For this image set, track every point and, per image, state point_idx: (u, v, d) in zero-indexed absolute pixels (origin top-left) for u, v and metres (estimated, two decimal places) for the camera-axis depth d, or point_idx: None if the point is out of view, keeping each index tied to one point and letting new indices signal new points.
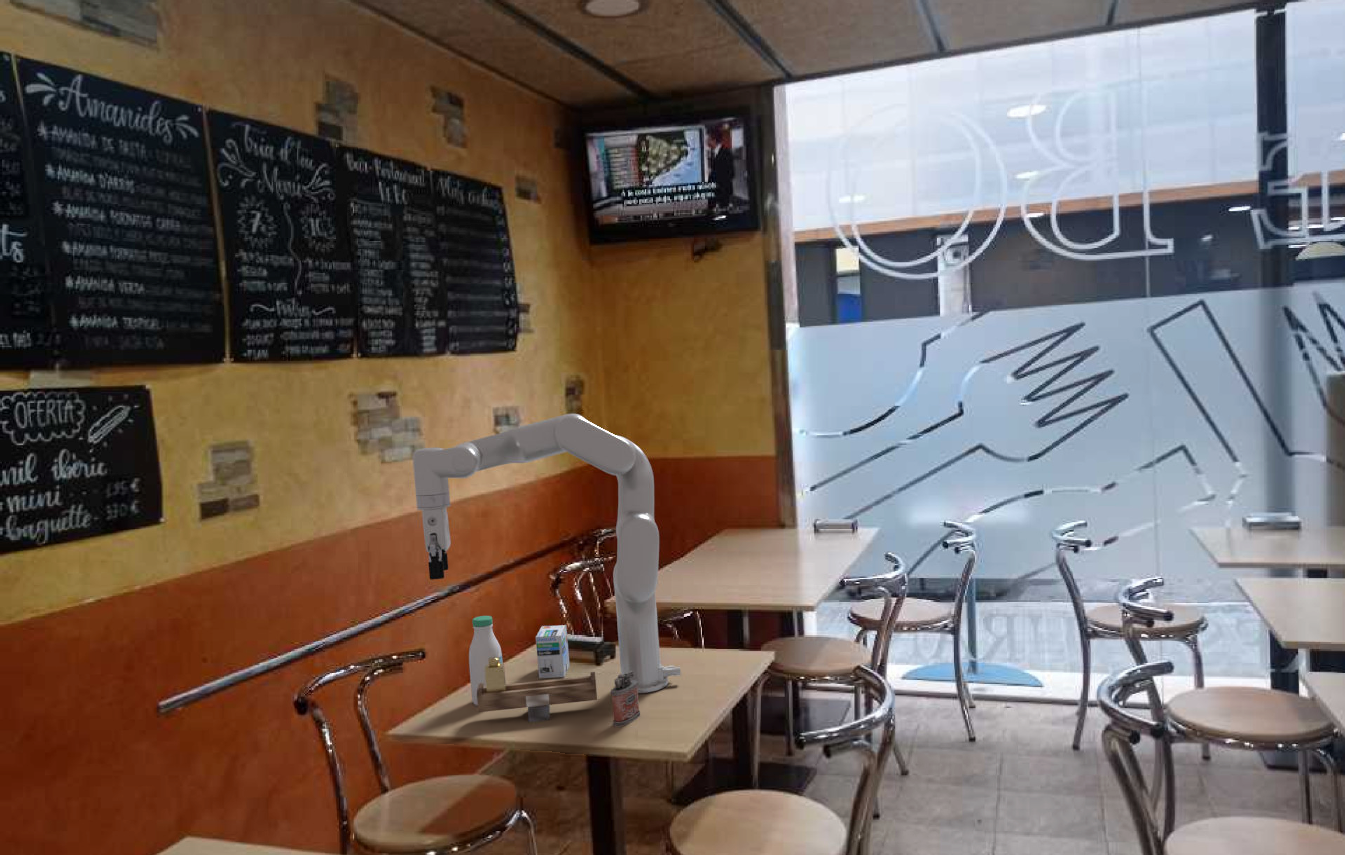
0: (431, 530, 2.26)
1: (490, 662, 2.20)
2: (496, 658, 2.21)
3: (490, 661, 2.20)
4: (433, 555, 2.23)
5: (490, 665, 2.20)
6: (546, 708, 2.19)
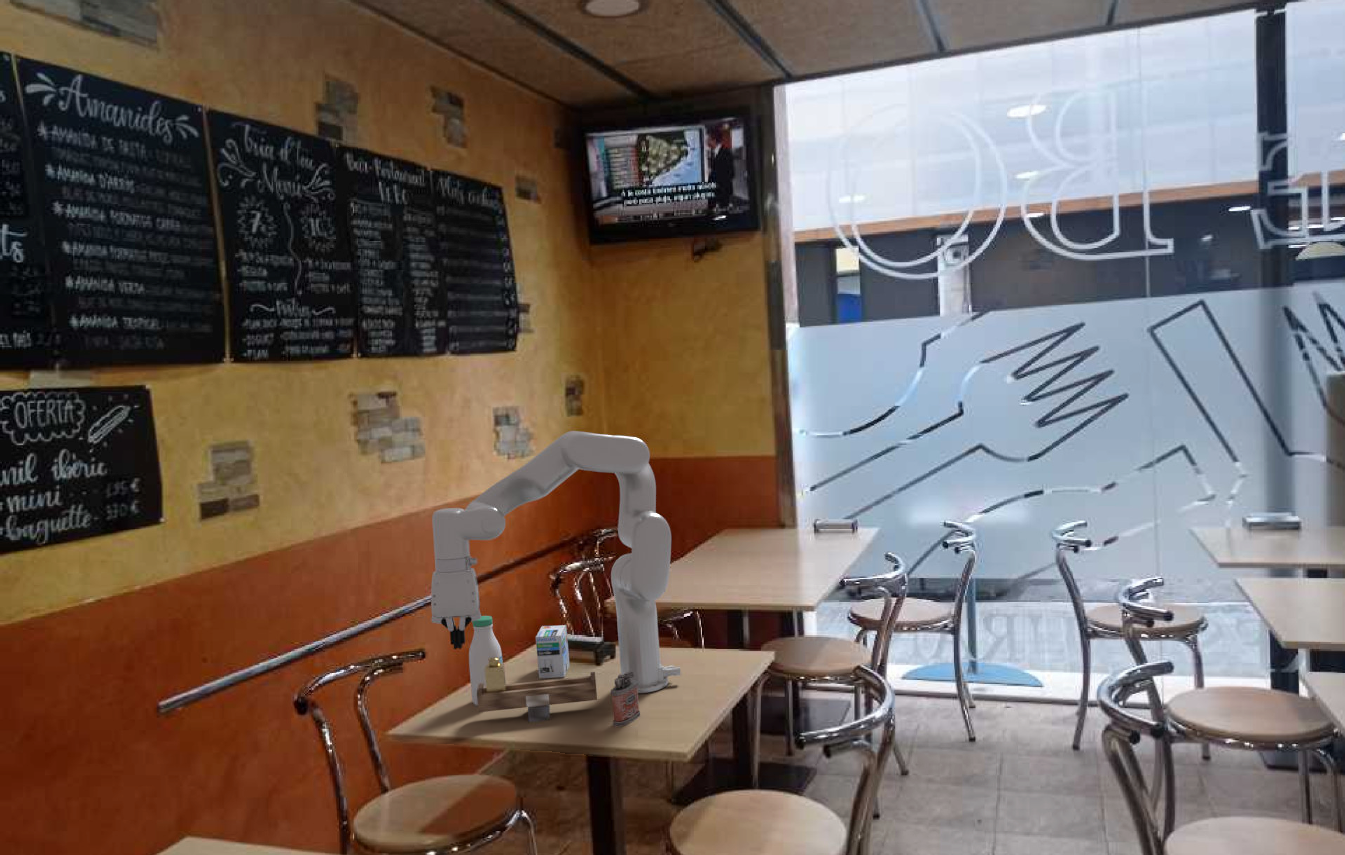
0: (477, 591, 2.19)
1: (490, 662, 2.20)
2: (496, 658, 2.21)
3: (490, 661, 2.20)
4: None
5: (490, 665, 2.20)
6: (546, 708, 2.19)
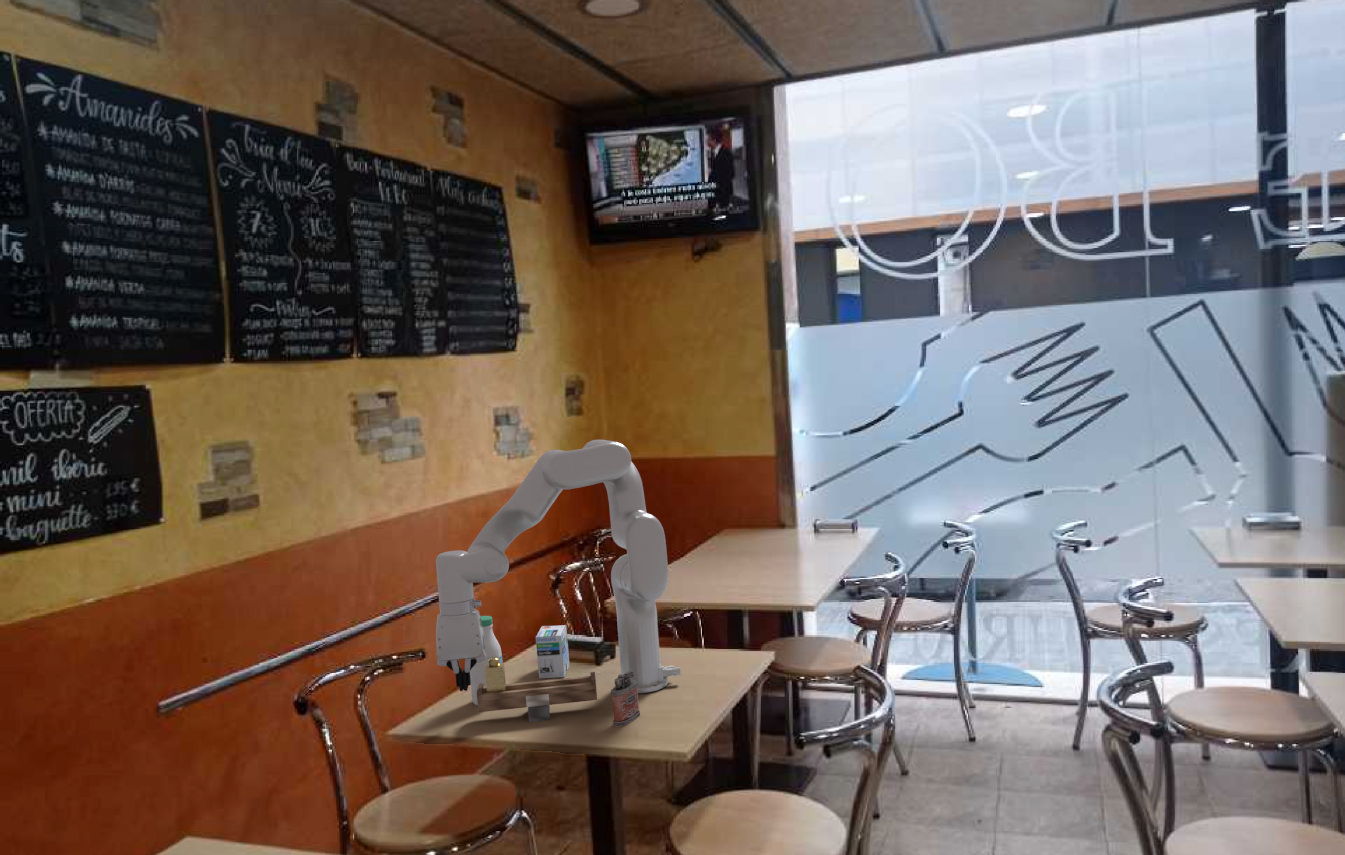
0: (482, 632, 2.20)
1: (490, 662, 2.20)
2: (496, 658, 2.21)
3: (490, 661, 2.20)
4: None
5: (490, 665, 2.20)
6: (546, 708, 2.19)
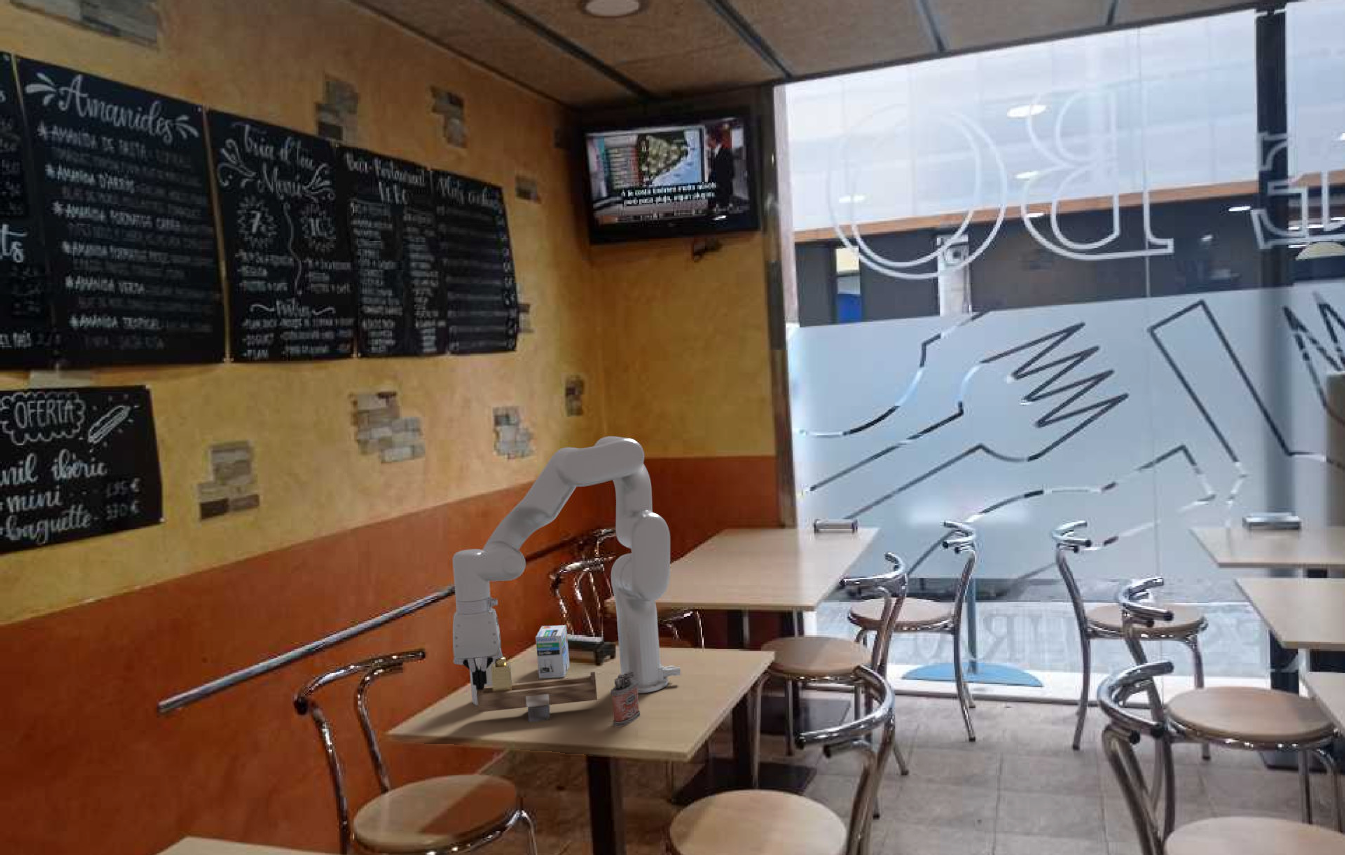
0: (498, 631, 2.20)
1: (496, 661, 2.20)
2: (502, 657, 2.21)
3: (497, 661, 2.20)
4: None
5: (496, 664, 2.20)
6: (546, 708, 2.19)
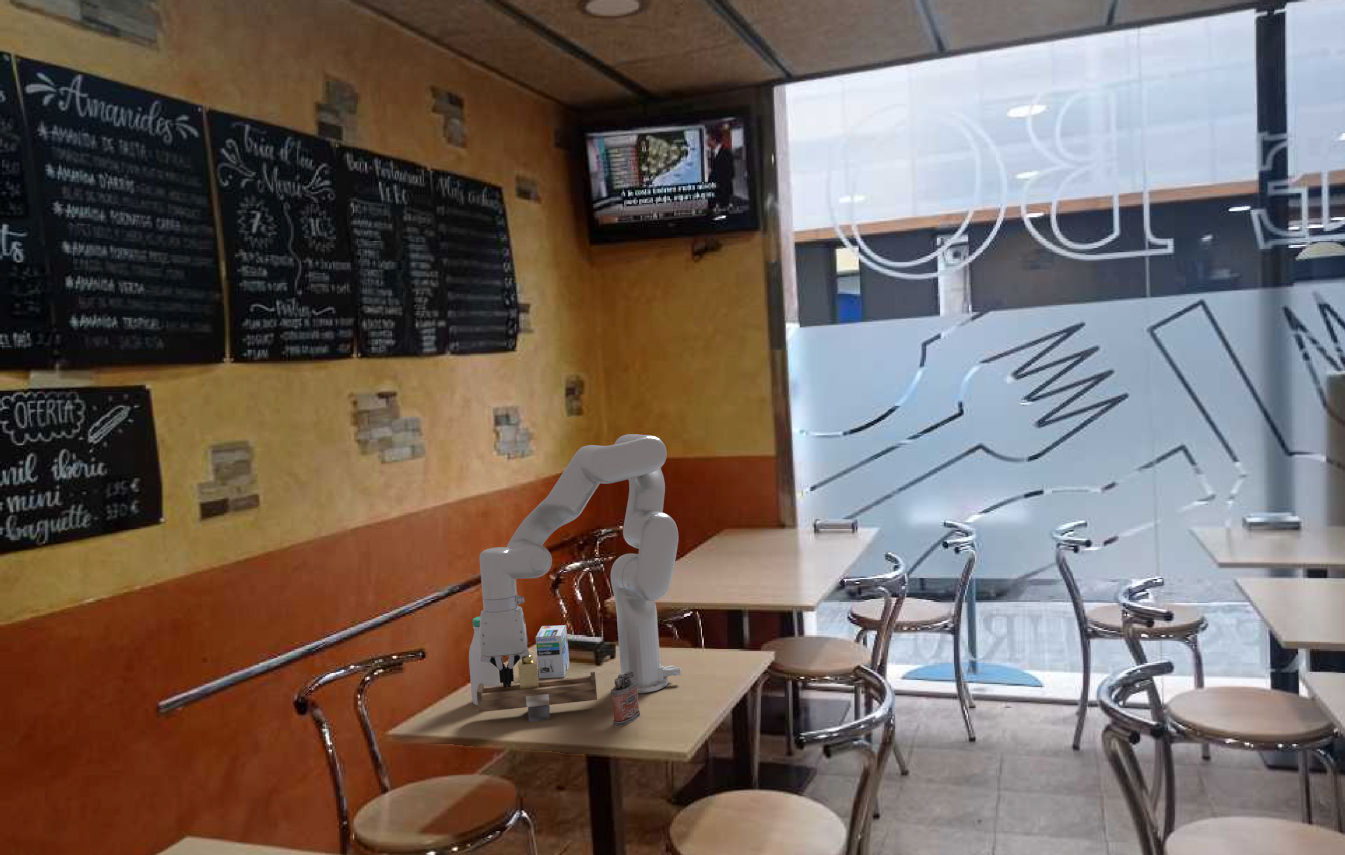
0: (525, 629, 2.21)
1: (523, 659, 2.21)
2: (529, 655, 2.22)
3: (524, 658, 2.21)
4: None
5: (523, 662, 2.21)
6: (546, 708, 2.19)
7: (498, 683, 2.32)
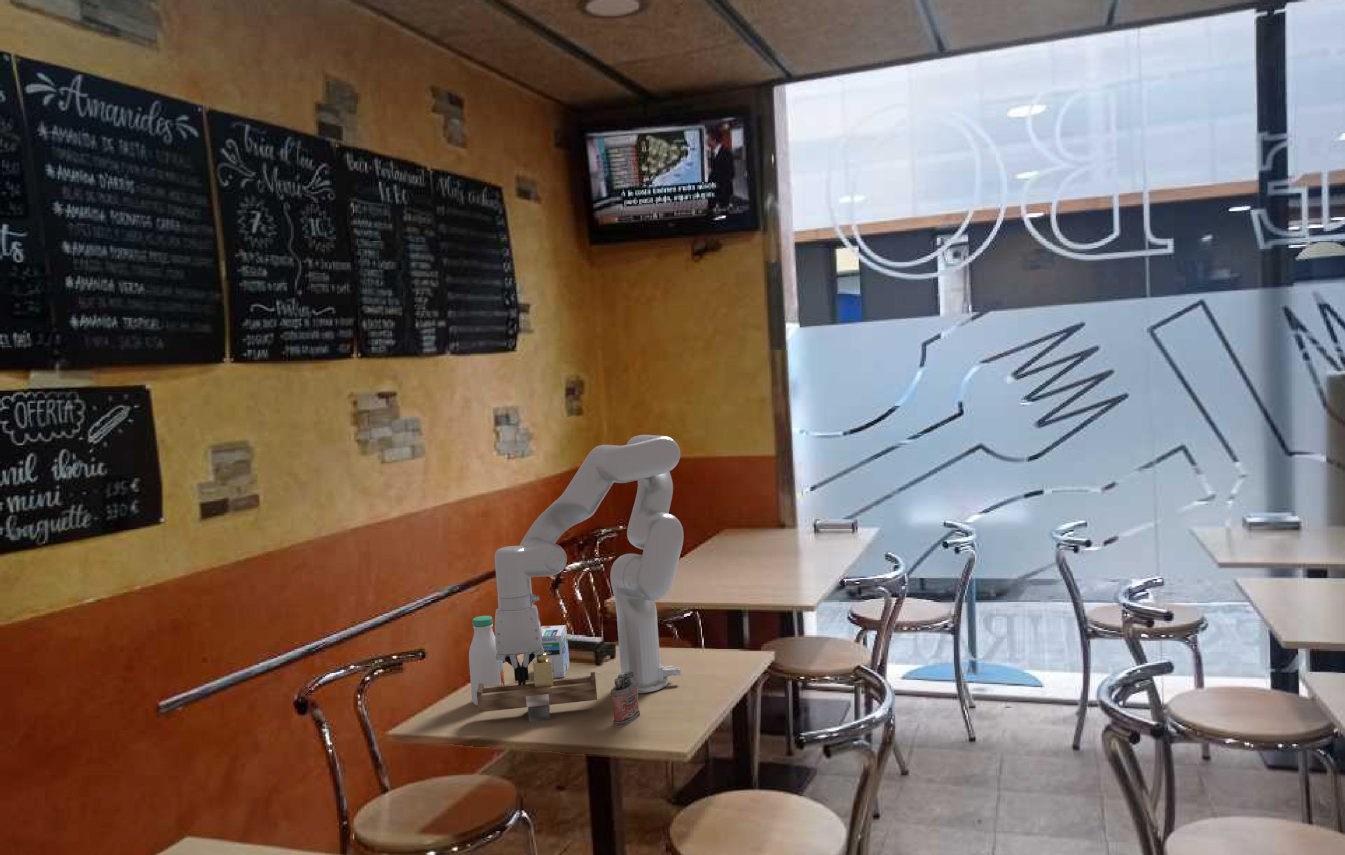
0: (540, 627, 2.21)
1: (538, 657, 2.21)
2: (544, 653, 2.22)
3: (539, 657, 2.21)
4: None
5: (538, 660, 2.21)
6: (546, 708, 2.19)
7: (498, 683, 2.32)
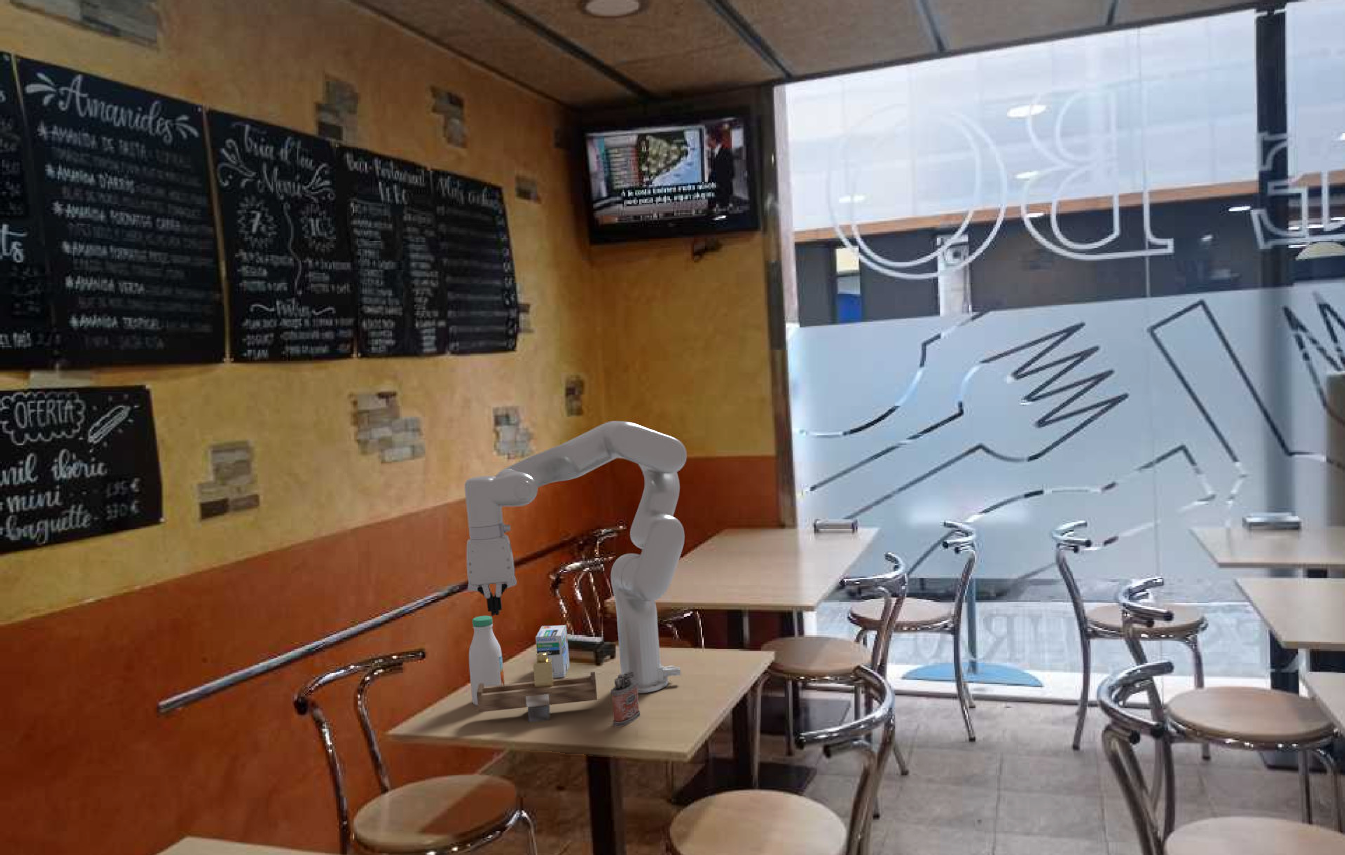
0: (512, 557, 2.20)
1: (538, 657, 2.21)
2: (544, 653, 2.22)
3: (539, 657, 2.21)
4: None
5: (538, 660, 2.21)
6: (546, 708, 2.19)
7: (498, 683, 2.32)
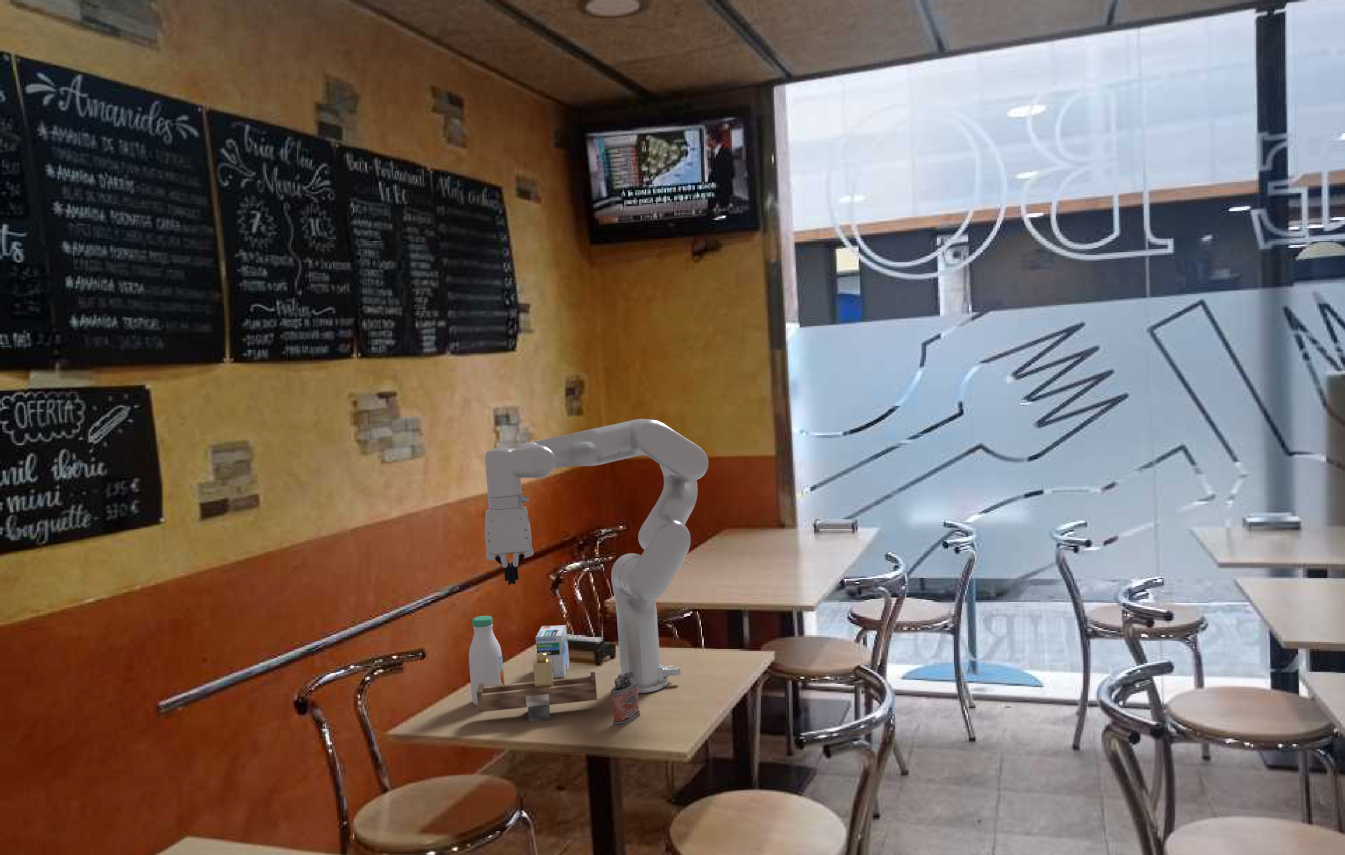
0: (529, 528, 2.25)
1: (538, 657, 2.21)
2: (544, 653, 2.22)
3: (539, 657, 2.21)
4: None
5: (538, 660, 2.21)
6: (546, 708, 2.19)
7: (498, 683, 2.32)
